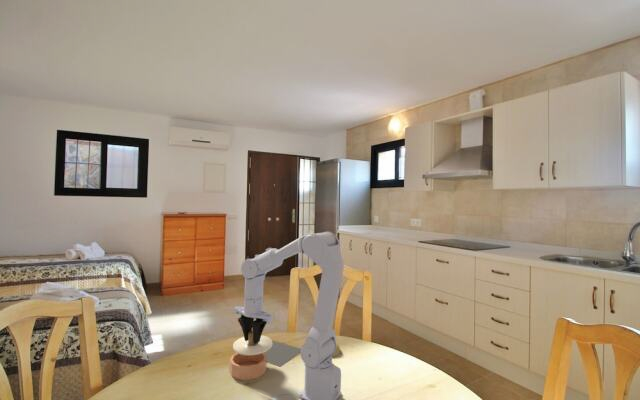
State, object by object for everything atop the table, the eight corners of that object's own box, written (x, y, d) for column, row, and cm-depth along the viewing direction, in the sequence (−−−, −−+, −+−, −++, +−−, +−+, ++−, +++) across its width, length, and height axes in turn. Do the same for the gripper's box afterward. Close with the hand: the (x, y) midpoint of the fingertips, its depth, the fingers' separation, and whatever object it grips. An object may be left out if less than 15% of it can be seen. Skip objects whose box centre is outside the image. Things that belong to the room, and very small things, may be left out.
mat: (304, 351, 114) (304, 349, 114) (280, 367, 102) (280, 366, 102) (272, 341, 121) (272, 340, 121) (246, 356, 109) (246, 354, 109)
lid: (280, 342, 104) (280, 329, 103) (255, 359, 93) (255, 345, 93) (251, 333, 109) (251, 321, 109) (224, 348, 99) (224, 335, 99)
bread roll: (327, 361, 108) (328, 348, 108) (310, 351, 115) (311, 339, 115) (345, 354, 114) (345, 342, 114) (328, 344, 121) (328, 334, 121)
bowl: (273, 368, 102) (273, 355, 102) (249, 384, 92) (249, 370, 92) (247, 359, 107) (247, 347, 107) (222, 373, 98) (222, 360, 98)
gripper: (280, 298, 101) (278, 342, 101) (245, 290, 108) (243, 331, 108) (265, 304, 95) (263, 350, 95) (229, 295, 102) (227, 338, 102)
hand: (252, 341), depth 101 cm, fingers closed on lid, 3 cm apart
